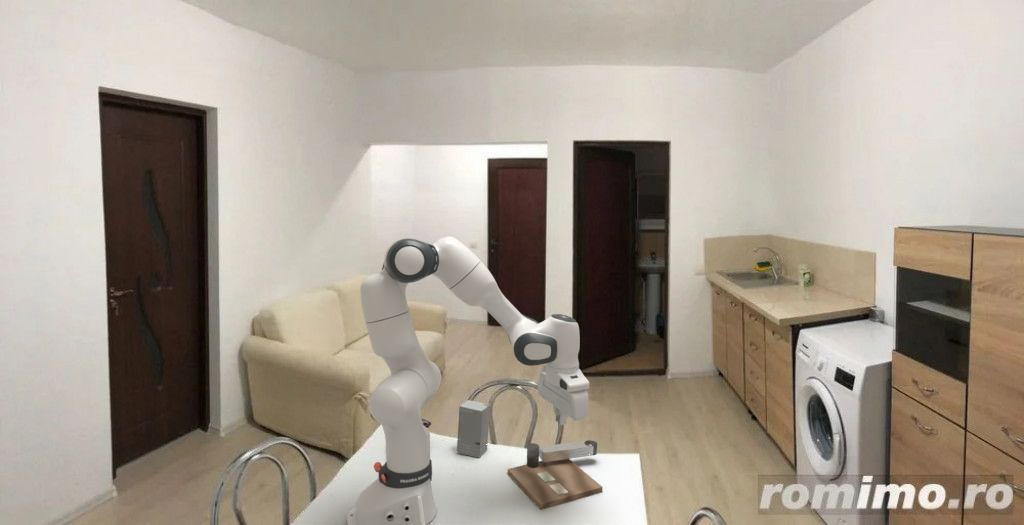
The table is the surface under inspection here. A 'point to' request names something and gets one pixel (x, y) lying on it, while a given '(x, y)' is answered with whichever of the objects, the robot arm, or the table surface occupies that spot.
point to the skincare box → (473, 428)
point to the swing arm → (567, 450)
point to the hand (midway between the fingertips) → (560, 422)
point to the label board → (552, 480)
